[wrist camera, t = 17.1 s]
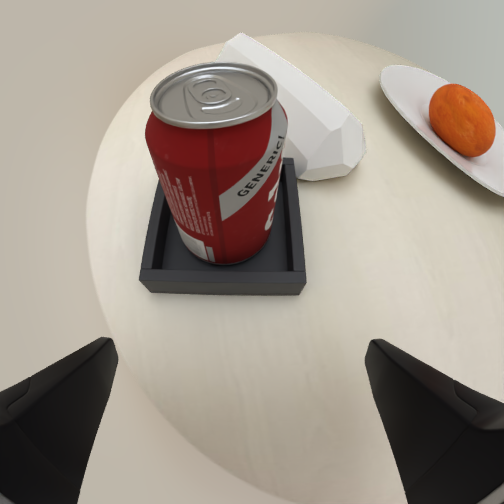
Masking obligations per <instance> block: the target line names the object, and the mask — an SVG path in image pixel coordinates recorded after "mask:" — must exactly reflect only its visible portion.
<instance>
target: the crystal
mask: <svg viewBox="0 0 504 504" xmlns="http://www.w3.org/2000/svg"><path fill="white" fill-rule="evenodd" d="M215 62H235V63H242V64H247V65H250V66H254V67H256V68H259V69H261V70H263V71H264V72H266V73H268V74H269V75H270V76H271V77H272V78H273V79H274V80H275V82H276V84H277V87H278V94H277V99H278V101H279V102H280V103H281V105H282V106H283V108H284V110H285V112H286V115H287V119H288V128H287V135H286V142H285V148H284V154H283V157H286V158H293V159H294V166H295V173H296V177H297V178H299V179H304V180H309V181H317V180H323V179H328V178H334V177H340V176H346V175H348V173H349V172H350V171H351V170H352V169H353V168H354V167H355V166H356V165H357V163H358V162H359V161H360V160H361V159H362V158H363V156H364V155H365V153H366V142H365V136H364V130H363V124H362V123H361V122H360V121H359V120H358V119H357V118H356V117H355V116H354V115H353V114H352V113H351V112H350V111H349V110H348V109H347V108H346V107H345V106H344V105H342V104H341V103H340V102H339V101H338V100H337V99H336V98H334V97H333V96H332V95H331V94H330V93H328V92H327V91H326V90H325V89H324V88H322V87H321V86H320V85H319V84H317V83H316V82H315V81H313V80H312V79H311V78H310V77H308V76H307V75H306V74H304V73H303V72H302V71H300V70H299V69H298V68H296V67H295V66H293V65H292V64H291V63H289V62H288V61H286V60H285V59H283V58H282V57H281V56H279V55H278V54H276V53H275V52H273V51H272V50H270V49H268V48H267V47H265V46H264V45H262V44H261V43H259V42H257V41H256V40H254V39H252V38H251V37H249V36H247V35H246V34H244V33H242V32H241V33H239V34H238V35H236V36H235V37H233V38H232V39H230V40H229V41H227V42H226V43H225V45H224V47H223V48H222V50H221V52H220V54H219V56H218V57H217V59H216V61H215Z"/></svg>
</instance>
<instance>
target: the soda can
mask: <svg viewBox="0 0 504 504" xmlns="http://www.w3.org/2000/svg"><path fill="white" fill-rule="evenodd" d="M277 94H278V87H277V84H276V82H275V80H274V79H273V78H272V77H271V76H270V75H269V74H268V73H266V72H264V71H263V70H261V69H259V68H256V67H254V66H250V65H247V64H242V63H235V62H210V63H203V64H198V65H193V66H190V67H187V68H184V69H181V70H179V71H177V72H175V73H173V74H171V75H169V76H167V77H166V78H165V79H163V80H162V81H161V82H160V83H159V84H158V85H157V86H156V87H155V88H154V90H153V91H152V93H151V96H150V105H151V109H152V112H151V114H150V117H149V119H148V121H147V124H146V129H145V138H146V142H147V146H148V148H149V151H150V154H151V157H152V160H153V163H154V166H155V169H156V172H157V174H158V177H159V180H160V183H161V186H162V188H163V191H164V194H165V196H166V199H167V202H168V204H169V207H170V210H171V212H172V215H173V217H174V220H175V223H176V225H177V228H178V230H179V233H180V235H181V238H182V240H183V242H184V244H185V246H186V247H187V249H188V250H189V251H190V252H191V253H192V254H193V255H195V256H196V257H198V258H199V259H201V260H203V261H205V262H208V263H212V264H217V265H231V264H236V263H240V262H243V261H245V260H247V259H249V258H251V257H252V256H254V255H255V254H257V253H258V252H259V251H260V250H261V249H262V248H263V246H264V245H265V244H266V242H267V240H268V238H269V235H270V232H271V227H272V221H273V215H274V209H275V203H276V197H277V191H278V185H279V179H280V173H281V167H282V160H283V154H284V148H285V142H286V135H287V128H288V119H287V115H286V112H285V110H284V108H283V106H282V105H281V103H280V102H279V101H278V99H277Z"/></svg>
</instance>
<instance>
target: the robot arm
mask: <svg viewBox="0 0 504 504" xmlns="http://www.w3.org/2000/svg"><path fill="white" fill-rule="evenodd" d="M117 364H118V354H117V351H116V348H115V345H114V342H113V340H112V339H111V338H107V337H100V338H99V339H97V340H95V341H93V342H91V343H90V344H88V345H86V346H84V347H82V348H81V349H79V350H77V351H75V352H73V353H72V354H70V355H68V356H66V357H65V358H63V359H61V360H59V361H57V362H55V363H54V364H52V365H50V366H48V367H46V368H45V369H43V370H41V371H40V372H38V373H36V374H34V375H32V376H31V377H28V378H27V379H25V380H23V381H21V382H19V383H18V384H16V385H14V386H12V387H9V388H8V389H5V390H3V391H1V392H0V504H77V502H78V498H79V494H80V489H81V485H82V481H83V478H84V474H85V470H86V467H87V463H88V460H89V456H90V453H91V450H92V446H93V443H94V440H95V437H96V434H97V430H98V428H99V425H100V422H101V419H102V416H103V413H104V410H105V407H106V405H107V402H108V398H109V396H110V392H111V388H112V384H113V380H114V376H115V372H116V368H117ZM365 366H366V369H367V373H368V377H369V381H370V385H371V389H372V393H373V397H374V400H375V403H376V406H377V408H378V411H379V414H380V417H381V420H382V422H383V425H384V428H385V431H386V434H387V437H388V440H389V443H390V446H391V449H392V452H393V455H394V458H395V461H396V464H397V467H398V471H399V474H400V477H401V480H402V484H403V487H404V491H405V495H406V498H407V502H408V504H504V403H502V402H500V401H497V400H495V399H493V398H490V397H488V396H486V395H483V394H481V393H479V392H477V391H475V390H473V389H471V388H469V387H467V386H465V385H463V384H461V383H459V382H458V381H456V380H453V379H452V378H450V377H449V376H447V375H445V374H443V373H441V372H440V371H438V370H436V369H434V368H433V367H431V366H429V365H427V364H425V363H424V362H422V361H420V360H418V359H417V358H415V357H413V356H411V355H410V354H408V353H406V352H404V351H403V350H401V349H399V348H397V347H395V346H394V345H392V344H390V343H388V342H387V341H385V340H383V339H373V340H371V341H370V343H369V346H368V349H367V353H366V356H365Z"/></svg>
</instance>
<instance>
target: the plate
mask: <svg viewBox="0 0 504 504" xmlns="http://www.w3.org/2000/svg"><path fill="white" fill-rule="evenodd" d="M379 82H380V85H381V88H382V90H383V92H384V93H385V95H386V97H387V98H388V99H389V101H390V102H391V104H392V105H393V106H394V107H395V109H396V110H397V111H398V112H399V113H400V114H401V115H402V116H403V118H404V119H405V120H406V121H407V122H408V123H409V124H410V125H411V126H412V127H413V128H414V129H415V130H416V131H417V132H418V133H419V134H420V135H421V136H423V137H424V138H425V139H426V140H427V141H428V142H429V143H430V144H431V145H432V146H433V147H435V148H436V149H437V150H438V151H439V152H440V153H441V154H443V155H444V156H445V157H446V158H447V159H448V160H450V161H451V162H452V163H453V164H455V165H456V166H457V167H458V168H460V169H461V170H462V171H463V172H465V173H466V174H467V175H469V176H470V177H471V178H473V179H474V180H475V181H477V182H478V183H480V184H481V185H483V186H484V187H486V188H487V189H489V190H491V191H492V192H494V193H496V194H498V195H500V196H503V197H504V129H503V128H502V127H501V126H500V124H499V123H498V122H497V121H496V120H495V119H494V117H493V115H492V113H491V110H490V109H489V107H488V106H487V105H486V104H485V102H484V101H483V100H482V99H481V98H480V97H479V96H478V95H476V94H475V93H474V92H472V91H471V90H469V89H467V88H466V87H463V86H461V85H458V84H451V83H450V82H448V81H446V80H444V79H443V78H440V77H439V76H436V75H434V74H432V73H430V72H427V71H425V70H422V69H419V68H415V67H411V66H406V65H391V66H387V67H386V68H384V69H383V70H382V71H381V73H380V75H379Z"/></svg>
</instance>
